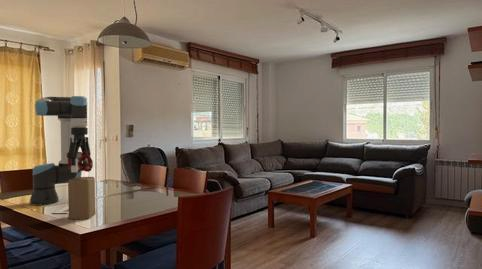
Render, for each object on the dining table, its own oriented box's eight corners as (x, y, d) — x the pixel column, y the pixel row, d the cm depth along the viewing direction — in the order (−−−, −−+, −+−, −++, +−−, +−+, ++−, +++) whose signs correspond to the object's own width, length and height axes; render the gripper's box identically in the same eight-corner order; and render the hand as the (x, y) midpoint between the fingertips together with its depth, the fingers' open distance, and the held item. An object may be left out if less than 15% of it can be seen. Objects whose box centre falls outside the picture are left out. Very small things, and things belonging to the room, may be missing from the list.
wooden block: (76, 214, 176) (75, 176, 175) (96, 214, 176) (95, 176, 176) (68, 220, 166) (67, 179, 165) (89, 219, 166) (88, 179, 166)
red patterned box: (95, 171, 172) (95, 150, 172) (70, 173, 163) (70, 152, 163) (89, 169, 177) (89, 150, 177) (64, 172, 168) (64, 151, 168)
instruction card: (51, 214, 178) (51, 213, 178) (69, 206, 196) (69, 205, 196) (75, 213, 178) (75, 212, 178) (91, 205, 196) (91, 205, 196)
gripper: (74, 127, 158) (75, 173, 158) (96, 126, 181) (97, 167, 182) (59, 127, 158) (60, 173, 158) (83, 127, 181) (83, 167, 182)
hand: (80, 170), depth 170 cm, fingers closed on red patterned box, 11 cm apart
